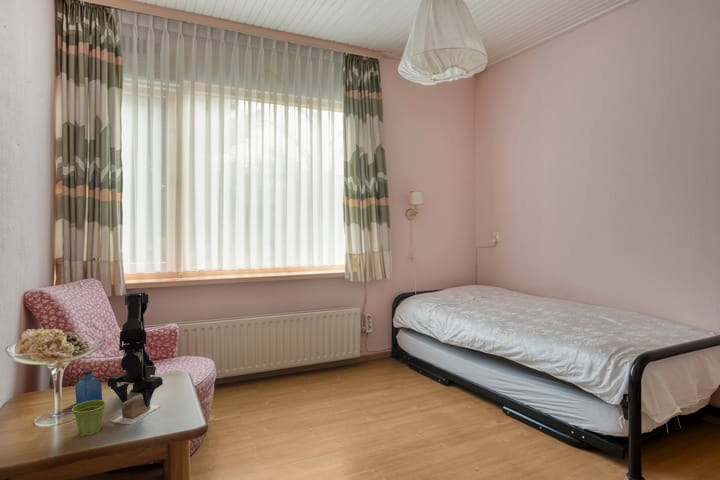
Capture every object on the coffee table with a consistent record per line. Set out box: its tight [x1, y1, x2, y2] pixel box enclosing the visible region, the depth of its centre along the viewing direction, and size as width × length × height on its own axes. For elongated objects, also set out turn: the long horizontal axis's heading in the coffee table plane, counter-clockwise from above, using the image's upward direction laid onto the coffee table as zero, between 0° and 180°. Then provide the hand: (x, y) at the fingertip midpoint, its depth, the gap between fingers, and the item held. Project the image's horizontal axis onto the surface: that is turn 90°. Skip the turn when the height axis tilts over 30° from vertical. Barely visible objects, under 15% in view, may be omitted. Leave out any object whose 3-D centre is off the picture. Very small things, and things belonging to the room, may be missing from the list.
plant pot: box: [71, 399, 107, 436], centre depth 143 cm, size 9×9×9 cm
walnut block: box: [121, 393, 151, 419], centre depth 155 cm, size 4×8×5 cm, turn 162°
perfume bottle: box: [74, 368, 103, 405], centre depth 167 cm, size 6×6×12 cm
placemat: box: [111, 404, 161, 426], centre depth 155 cm, size 14×8×1 cm, turn 165°
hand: (136, 405), depth 155 cm, fingers open, 9 cm apart
